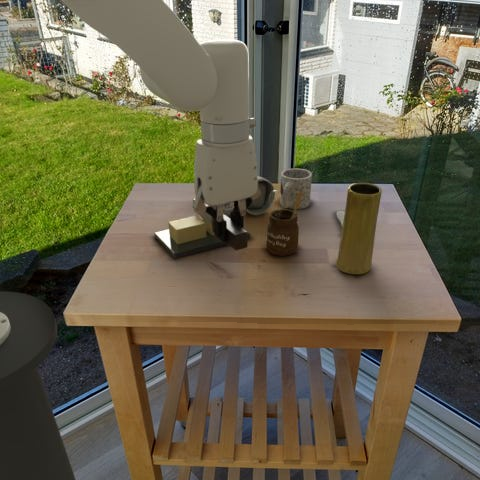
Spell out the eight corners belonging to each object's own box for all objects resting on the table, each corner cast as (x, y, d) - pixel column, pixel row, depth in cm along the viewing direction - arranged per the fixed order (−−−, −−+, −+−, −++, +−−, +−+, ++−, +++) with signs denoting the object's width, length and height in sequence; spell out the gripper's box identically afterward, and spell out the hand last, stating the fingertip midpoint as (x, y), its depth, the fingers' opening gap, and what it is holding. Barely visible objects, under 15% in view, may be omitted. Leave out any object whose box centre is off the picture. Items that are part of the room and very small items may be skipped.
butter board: (174, 258, 91) (174, 253, 90) (154, 237, 98) (154, 232, 97) (250, 238, 97) (250, 233, 96) (226, 219, 104) (226, 215, 103)
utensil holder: (276, 239, 97) (279, 179, 90) (304, 247, 94) (309, 186, 87) (259, 251, 93) (260, 189, 86) (288, 260, 90) (292, 197, 83)
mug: (286, 195, 114) (288, 166, 110) (313, 200, 112) (316, 171, 108) (269, 211, 107) (269, 181, 103) (297, 216, 105) (299, 186, 101)
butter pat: (212, 235, 96) (211, 221, 94) (203, 227, 99) (202, 213, 97) (225, 232, 97) (225, 218, 95) (216, 224, 100) (215, 210, 98)
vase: (374, 275, 85) (388, 196, 76) (338, 275, 85) (348, 196, 76) (367, 257, 90) (380, 181, 81) (333, 257, 90) (342, 181, 81)
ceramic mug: (255, 198, 113) (255, 165, 108) (275, 211, 107) (275, 176, 102) (214, 208, 109) (212, 174, 104) (232, 222, 103) (231, 187, 98)
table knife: (199, 209, 100) (198, 195, 98) (247, 247, 86) (247, 231, 84) (189, 212, 99) (187, 197, 97) (235, 251, 85) (235, 235, 83)
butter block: (177, 244, 93) (176, 229, 91) (169, 236, 96) (168, 221, 94) (206, 237, 95) (205, 222, 94) (197, 229, 98) (196, 215, 96)
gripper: (257, 117, 83) (256, 218, 94) (168, 132, 77) (179, 239, 88) (281, 128, 78) (278, 234, 89) (188, 145, 72) (197, 257, 83)
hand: (229, 235), depth 88 cm, fingers closed on table knife, 2 cm apart
